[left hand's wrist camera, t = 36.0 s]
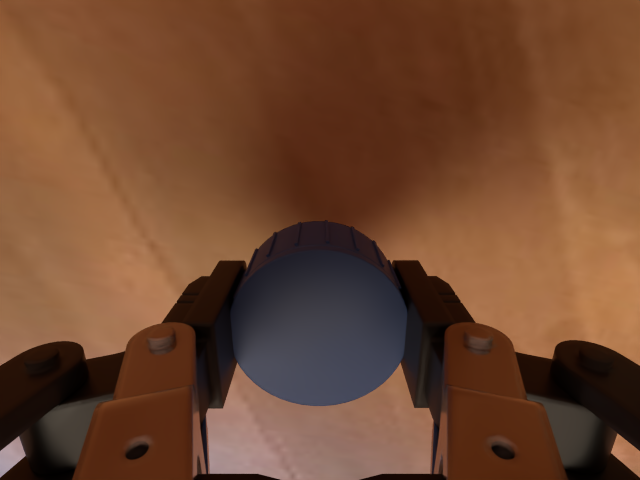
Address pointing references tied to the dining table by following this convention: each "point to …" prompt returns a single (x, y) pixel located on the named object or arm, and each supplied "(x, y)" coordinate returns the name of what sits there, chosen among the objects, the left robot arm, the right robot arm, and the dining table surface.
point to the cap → (318, 315)
